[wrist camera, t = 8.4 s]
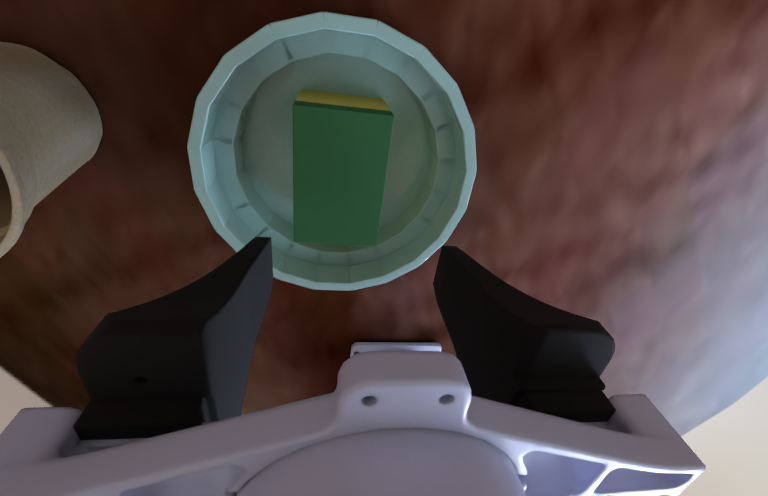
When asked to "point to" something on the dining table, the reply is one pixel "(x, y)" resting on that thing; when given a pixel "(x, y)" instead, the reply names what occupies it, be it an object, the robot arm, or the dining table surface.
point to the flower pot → (39, 133)
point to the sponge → (339, 167)
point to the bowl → (275, 145)
